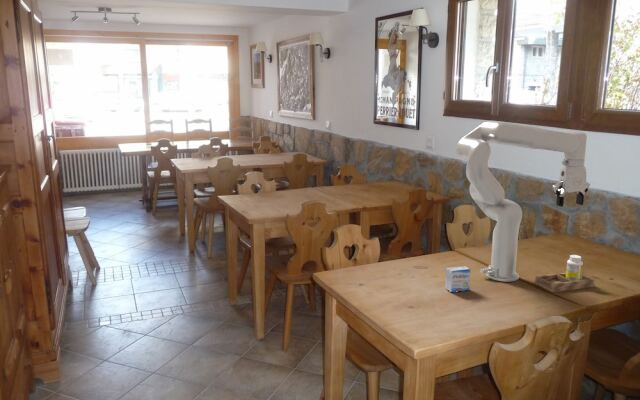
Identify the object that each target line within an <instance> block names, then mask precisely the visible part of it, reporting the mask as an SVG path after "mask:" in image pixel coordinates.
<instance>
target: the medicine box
mask: <svg viewBox="0 0 640 400" xmlns="http://www.w3.org/2000/svg"><path fill="white" fill-rule="evenodd" d="M470 279H471V269H470V268H469V267H467V266H465V265H464V266H463V265H461V266H451V267H446V269H445V288H446V289H445V290H446V291H448V290H449V291H448V292H450V293H451V292H454V293H457V292H456V291H462V292H466V291H465V290H469V291H470V284H471V283H470V282H471V280H470Z"/></svg>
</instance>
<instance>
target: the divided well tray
mask: <svg viewBox="0 0 640 400" xmlns="http://www.w3.org/2000/svg"><path fill="white" fill-rule="evenodd" d="M534 279H535V280H534V281H535V282H534V284H535V285H537V286H539V287H541V288H543V289H545V290H547V291H549V292H551V293H557V292H565V291H571V290H572V291H573V290H580V289H586V288H587V289H588V288H594V287H595V286H594V285H595V279H594V278H592V277H590V276H587V275H586V274H583V273H582V280H577V281H572V280H570V279H568V278H566V272H559V273H550V274H544V275H543V274H542V275H535V278H534Z"/></svg>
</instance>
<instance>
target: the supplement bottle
mask: <svg viewBox="0 0 640 400" xmlns="http://www.w3.org/2000/svg"><path fill="white" fill-rule="evenodd" d="M583 268H584V263H583V261H582V256H580V255H578V254H571V255H569V259H567V261H566V271H565V273H566V278H568V279H570V280H572V281H577V280H582V274H583V270H584V269H583Z"/></svg>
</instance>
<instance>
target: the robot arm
mask: <svg viewBox="0 0 640 400" xmlns="http://www.w3.org/2000/svg"><path fill="white" fill-rule="evenodd" d="M587 137H588V136H587V134H586V133H585V132H583V131H581V132H580V131H570V132H564V131H557V130H551V129H545V128H541V127H537V126H532V125H525V124H519V123H513V122H507V121H499V120H498V121H497V120H487V121H485V122H483V123H481V124H480V125H479V126H477V127H476V128H474V129H473V130H472V131H470V132H469V133H467V134H466V135H465V136H463V137H462V138H461V139H459V140H458V142H457V144H456V147H455V148H456V152H457V153H456V154H457V155H458V157H460V158H462V159H464V160H467V162H466V166H465V174H466V178H467V179H468V182H469V183H470V184H469V188H468V189H469V190H468V191H469V194H470V196H471V198H472V200H473V201H474V202H475V204H477V206H478V207H479V209H480V210H481V211H482V212H483V214H484V215H486V217H488V218H490V219H491V220H494V221H496V223H495V226H494V228H493V232H492V243H491V244H492V245H491V258H490V259H491V260H490V264H488V267H485V268H480V269H479V273H480V274H485V275H486V277H487V278H489V279H491V280H494V281H497V282H503V283H506V282H507V283H508V282H516V281H518V280H519V279H520V274H519V273H517V272H516V268H517V256H518V255H517V254H518V246H519V245H518V242H519V239H518V238H519V229H520V226H521V222H522V218H523V210H522V207H521V206H520V205H519V203H517V202H515V201H513V200H511V199H507V198H505V195H506V193H505V189H504V187H503V186H502V185H501V184H500V182H499V181H498V180H497V179H496V177H495V176H494V175H493V174H492V172H491V171H490V169H489V160H490V156H491V152H492V151H491V146H490V143H491V144H492V143H493V144H497V145H504V146H510V147H517V148H523V149H525V148H526V149H531V150H544V151H545V150H546V151H553V152H558V153H559V152H560V153H563V160H562V161H561V164H562V166H561V169H560V172H559V176H558V182H557V183H555V184H553V185H552V189H553V192H554V194H555V196H556V206H558V207H561V208H562V207H564V202H565V201H564V200H565V196H564V195H565V194H566V193H577V194H576V201H575V204H577V205H579V206H580V205H581V206H583V205H584V199H585V198H584V197H585V196H586V194H587V192H588V191H589V188H590V186H591V183H589V182H588V181H587V169H586V168H587V167H586V166H585V158H586V148H587V140H588V139H587Z"/></svg>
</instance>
